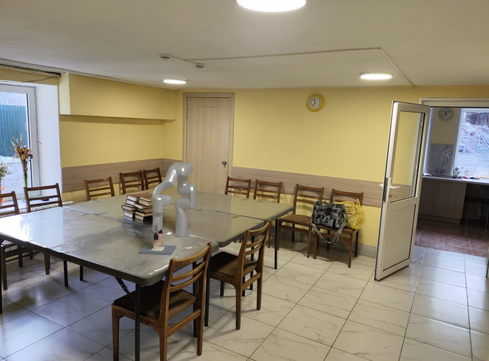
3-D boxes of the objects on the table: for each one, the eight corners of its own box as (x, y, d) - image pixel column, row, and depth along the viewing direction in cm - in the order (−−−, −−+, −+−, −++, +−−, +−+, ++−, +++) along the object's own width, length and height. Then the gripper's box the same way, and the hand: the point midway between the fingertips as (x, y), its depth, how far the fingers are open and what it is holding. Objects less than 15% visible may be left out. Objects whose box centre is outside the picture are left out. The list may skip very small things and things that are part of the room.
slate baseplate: (146, 246, 244) (146, 244, 244) (176, 247, 244) (176, 245, 244) (138, 253, 230) (138, 251, 229) (170, 255, 229) (170, 252, 229)
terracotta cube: (155, 240, 238) (155, 233, 238) (162, 240, 238) (162, 233, 237) (153, 242, 233) (153, 235, 233) (160, 242, 233) (160, 236, 232)
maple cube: (155, 247, 239) (155, 240, 238) (162, 247, 239) (162, 240, 238) (153, 249, 234) (153, 242, 233) (160, 249, 234) (160, 242, 233)
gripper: (156, 211, 242) (156, 234, 244) (148, 217, 224) (148, 241, 227) (166, 211, 241) (166, 234, 244) (159, 217, 224) (159, 242, 227)
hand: (158, 237), depth 235 cm, fingers open, 9 cm apart
